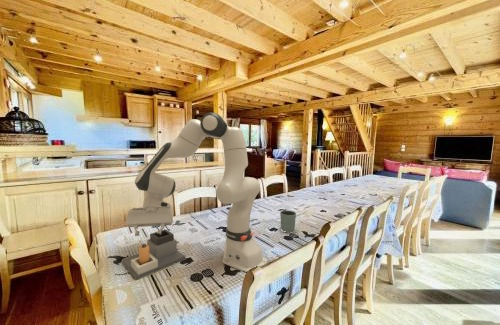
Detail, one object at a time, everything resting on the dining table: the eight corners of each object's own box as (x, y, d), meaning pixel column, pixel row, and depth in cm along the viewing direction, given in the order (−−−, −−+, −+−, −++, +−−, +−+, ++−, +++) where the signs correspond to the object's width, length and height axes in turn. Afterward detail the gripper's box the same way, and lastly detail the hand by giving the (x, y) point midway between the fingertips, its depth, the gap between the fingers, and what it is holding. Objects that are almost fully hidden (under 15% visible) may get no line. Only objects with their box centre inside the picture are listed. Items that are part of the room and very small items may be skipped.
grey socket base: (185, 259, 102) (185, 238, 101) (136, 280, 86) (135, 255, 85) (168, 246, 114) (168, 227, 113) (122, 262, 97) (121, 240, 96)
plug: (151, 266, 93) (150, 244, 92) (141, 270, 90) (140, 247, 89) (147, 263, 95) (147, 241, 94) (137, 266, 92) (137, 244, 91)
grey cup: (295, 234, 134) (296, 216, 133) (278, 232, 136) (279, 214, 135) (295, 228, 144) (296, 210, 143) (279, 226, 146) (280, 209, 144)
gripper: (127, 205, 102) (120, 233, 93) (173, 203, 106) (170, 230, 98) (131, 211, 106) (124, 238, 98) (174, 209, 111) (172, 235, 102)
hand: (148, 234), depth 98 cm, fingers open, 8 cm apart
